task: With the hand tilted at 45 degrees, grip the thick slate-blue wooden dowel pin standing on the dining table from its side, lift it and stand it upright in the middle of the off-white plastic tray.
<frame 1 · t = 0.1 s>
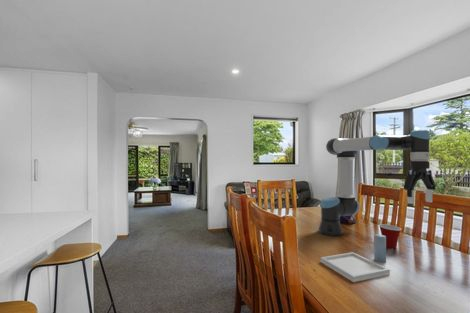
hand: (420, 202, 118), 28 cm above the table, fingers open, 13 cm apart
plastic cup: (390, 247, 132), on the table
decorative bottle: (343, 221, 188), on the table
dowel pin: (380, 260, 115), on the table
tray: (353, 267, 107), on the table
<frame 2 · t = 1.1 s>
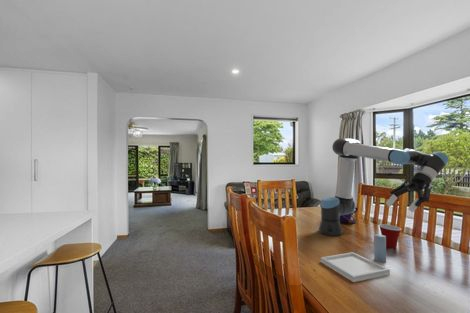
hand: (398, 207, 117), 26 cm above the table, fingers open, 13 cm apart
nothing on the table moved.
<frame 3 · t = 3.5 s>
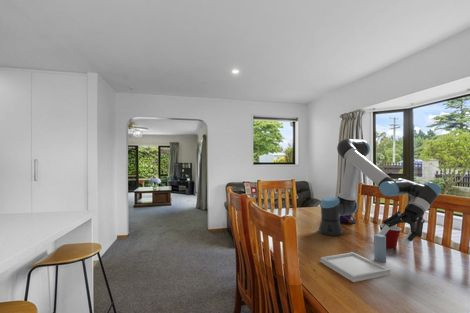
hand: (391, 240, 115), 10 cm above the table, fingers open, 13 cm apart
nothing on the table moved.
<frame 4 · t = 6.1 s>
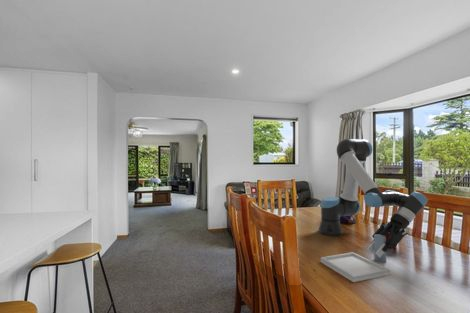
hand: (373, 253, 115), 4 cm above the table, fingers closed on dowel pin, 5 cm apart
dowel pin: (380, 260, 115), on the table, touching gripper
everything else where it was.
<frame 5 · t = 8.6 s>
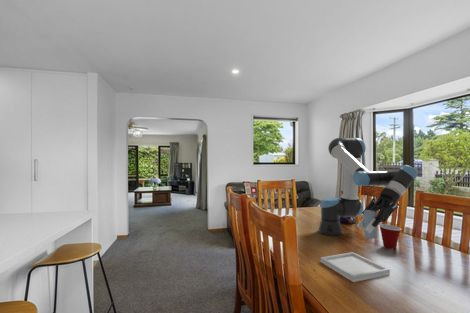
hand: (363, 229, 109), 17 cm above the table, fingers closed on dowel pin, 5 cm apart
dowel pin: (370, 236, 110), point 13 cm above the table, touching gripper
everything else where it was.
when the fingers open (6 cm above the table, at t = 11.6 s): dowel pin stays where it is, resting on tray.
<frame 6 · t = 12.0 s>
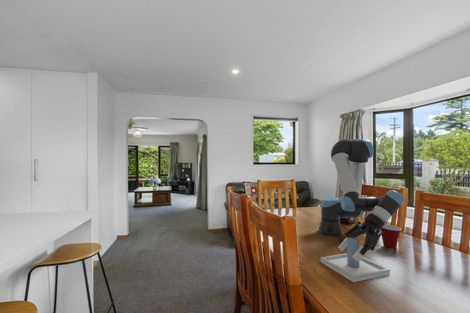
hand: (347, 253, 107), 7 cm above the table, fingers open, 10 cm apart
dowel pin: (353, 265, 107), point 1 cm above the table, touching tray
everything else where it was.
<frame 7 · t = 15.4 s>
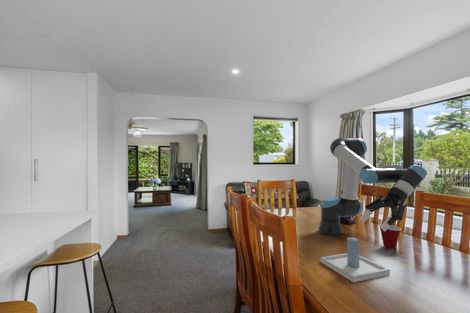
hand: (371, 224, 109), 19 cm above the table, fingers open, 13 cm apart
nothing on the table moved.
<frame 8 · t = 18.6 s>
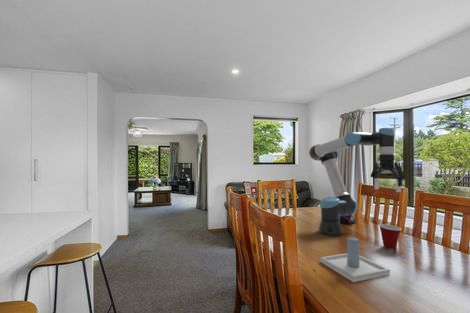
hand: (387, 190, 136), 32 cm above the table, fingers open, 13 cm apart
nothing on the table moved.
at the end: dowel pin inside the target area on the tray (0.1 cm from its centre), point 1.0 cm above the tray's base; dowel pin tilted 0°; the gripper is holding nothing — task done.
